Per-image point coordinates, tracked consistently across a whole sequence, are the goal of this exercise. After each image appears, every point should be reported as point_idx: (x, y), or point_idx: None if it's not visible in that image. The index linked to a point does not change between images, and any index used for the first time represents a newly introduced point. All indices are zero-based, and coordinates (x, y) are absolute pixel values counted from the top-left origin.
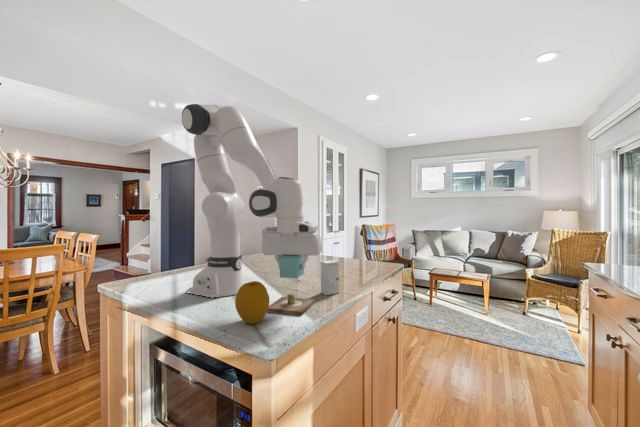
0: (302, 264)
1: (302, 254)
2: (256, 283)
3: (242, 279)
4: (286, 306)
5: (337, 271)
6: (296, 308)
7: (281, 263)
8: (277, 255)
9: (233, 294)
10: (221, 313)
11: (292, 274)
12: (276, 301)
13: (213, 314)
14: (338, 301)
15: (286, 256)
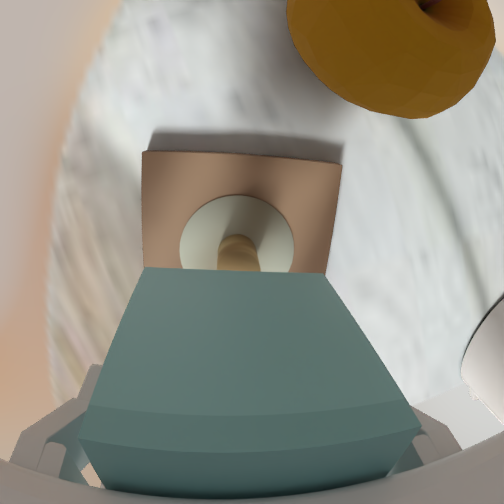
0: (89, 395)
1: (22, 475)
2: (434, 22)
3: (484, 388)
4: (244, 202)
5: (102, 485)
6: (183, 188)
7: (351, 358)
8: (435, 460)
9: (489, 314)
10: (484, 130)
11: (191, 285)
12: (322, 265)
13: (499, 120)
14: (73, 346)
15: (293, 454)
